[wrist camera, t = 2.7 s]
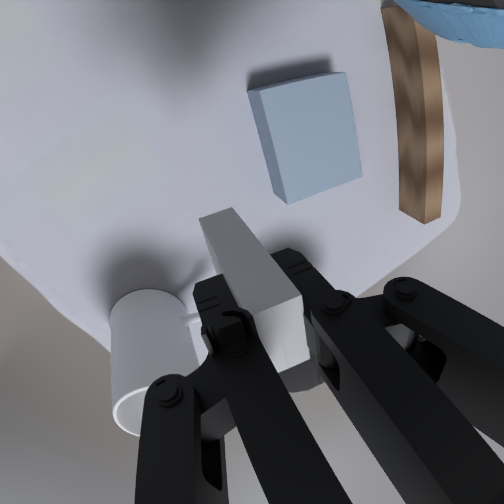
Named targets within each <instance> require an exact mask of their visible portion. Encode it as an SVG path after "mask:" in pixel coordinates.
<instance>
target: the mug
mask: <svg viewBox="0 0 504 504" xmlns="http://www.w3.org/2000/svg"><path fill="white" fill-rule="evenodd" d="M199 321H201V319H200V316H199V313H193V314H189V315H188V313H187V310H186V308H185V306H184V305H183V304H182V302H181V301H180V300H179V299H177V298H176V297H175V296H173V295H171V294H169V293H167V292H164V291H161V290H155V289H143V290H137V291H134V292H131V293H129V294H127V295H125V296H124V297H122V298H121V299H120V300H119V301H118V302H117V303H116V304H115V305H114V307H113V308H112V311H111V313H110V318H109V324H110V329H111V388H112V410H113V417H114V420H115V422H116V423H117V424H118V425H119V426H120V427H121V428H122V429H123V430H125V431H126V432H128V433H130V434H133V435H136V436H139V437H140V431H141V422H142V414H143V406H144V398H145V395H146V392H147V389H148V388H149V386H150V385H151V384H152V383H153V382H154V381H155V380H157V379H158V378H160V377H161V376H165V375H168V374H180V375H183V376H185V377H186V376H187V375H189V374H190V373H192V372H193V371H195V370H196V369H197V368H198V367H200V366H199V362H198V359H197V355H196V352H195V348H194V345H193V341H192V337H191V333H190V330H189V326H190V325H191V324H193V323H196V322H199Z"/></svg>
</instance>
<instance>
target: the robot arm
mask: <svg viewBox="0 0 504 504" xmlns="http://www.w3.org/2000/svg"><path fill="white" fill-rule="evenodd" d="M394 1H395V2H396V3H397V4H398V5H399V6H400V7H401V8H403V9H404V10H405V11H406V12H407V13H408V14H409V15H410V16H411V17H412V18H413V19H414V20H415V21H416V22H418V23H419V24H420V25H421V26H423V27H424V28H425V29H427V30H429V31H430V32H432V33H434V34H436V35H438V36H440V37H442V38H445V39H447V40H450V41H454V42H458V43H471V44H472V45H474V46H476V47H482V48H500V49H504V0H394ZM199 222H200V225H201V228H202V231H203V234H204V237H205V240H206V243H207V246H208V250H209V253H210V256H211V259H212V262H213V265H214V268H215V271H216V273H217V276H214V277H211V278H209V279H206V280H203V281H200V282H198V283H196V284H195V287H194V291H193V297H194V300H195V303H196V306H197V310H198V312H199V316H200V319H201V322H202V327H201V336H202V338H203V340H204V342H205V345H206V347H207V349H208V351H209V352H208V355H207V358H206V360H205V361H204V362H203V364H202V365H201V366H200V367H198V368H197V369H196V370H195V371H193V372H192V373H190V374H189V375H187V376H186V377H185V376H183V375H180V374H168V375H165V376H161V377H160V378H158V379H157V380H155V381H154V382H153V383H152V384H151V385H150V386H149V388H148V389H147V392H146V395H145V398H144V406H143V414H142V422H141V431H140V440H139V450H138V463H137V474H136V488H135V504H229V499H228V487H227V473H226V459H225V442H224V435H225V434H227V433H228V432H229V431H231V430H232V429H233V428H234V427H236V426H237V428H238V431H239V434H240V436H241V439H242V441H243V444H244V446H245V448H246V451H247V453H248V456H249V458H250V461H251V463H252V466H253V468H254V470H255V473H256V475H257V478H258V480H259V482H260V484H261V487H262V489H263V491H264V494H265V496H266V498H267V500H268V503H269V504H352V502H351V500H350V499H349V497H348V495H347V494H346V492H345V491H344V489H343V487H342V486H341V484H340V482H339V480H338V479H337V477H336V476H335V473H334V472H333V470H332V468H331V467H330V465H329V463H328V461H327V460H326V458H325V456H324V455H323V453H322V451H321V449H320V448H319V446H318V444H317V443H316V441H315V439H314V437H313V435H312V433H311V432H310V430H309V428H308V427H307V425H306V423H305V421H304V419H303V418H302V416H301V414H300V412H299V410H298V409H297V407H296V405H295V403H294V401H293V400H292V398H291V396H290V394H289V392H288V390H287V389H286V387H285V385H284V383H283V381H282V379H281V378H280V376H279V374H278V373H279V372H281V371H284V370H286V369H288V368H291V367H293V366H295V365H298V364H300V363H302V362H304V361H306V360H309V359H310V353H309V349H310V351H311V352H312V354H313V355H314V357H315V358H316V366H317V377H318V381H319V384H322V383H323V379H324V381H325V382H326V383H327V385H328V387H329V388H330V390H331V391H332V393H333V394H334V396H335V397H336V399H337V400H338V402H339V403H340V405H341V406H342V408H343V410H344V411H345V413H346V414H347V416H348V417H349V419H350V420H351V422H352V423H353V425H354V426H355V428H356V429H357V431H358V432H359V434H360V435H361V437H362V438H363V440H364V441H365V443H366V444H367V446H368V447H369V449H370V451H371V452H372V453H373V455H374V457H375V458H376V460H377V461H378V463H379V464H380V466H381V467H382V468H383V470H384V472H385V473H386V474H387V476H388V477H389V479H390V481H391V482H392V484H393V485H394V486H395V488H396V489H397V491H398V492H399V494H400V495H401V497H402V498H403V500H404V501H405V503H406V504H504V463H503V462H502V461H501V460H500V458H499V457H498V456H497V455H496V453H495V452H494V451H493V450H492V449H491V447H490V446H489V445H488V444H487V443H486V441H485V440H484V439H483V438H482V437H481V435H480V434H479V433H478V432H477V431H476V430H475V428H477V429H478V430H480V431H481V432H482V433H484V434H485V435H487V436H488V437H490V438H491V439H492V440H494V441H495V442H497V443H498V444H500V445H501V446H502V447H504V327H503V326H501V325H499V324H498V323H496V322H494V321H492V320H491V319H489V318H487V317H485V316H484V315H481V314H480V313H478V312H476V311H475V310H473V309H471V308H469V307H467V306H466V305H464V304H462V303H460V302H458V301H456V300H455V299H453V298H451V297H449V296H447V295H445V294H444V293H441V292H440V291H438V290H436V289H434V288H432V287H430V286H429V285H427V284H425V283H423V282H421V281H419V280H417V279H414V278H411V277H398V278H394V279H392V280H390V281H388V282H387V284H386V285H385V286H384V291H383V294H381V295H376V296H371V297H366V298H355V297H354V296H353V295H352V294H350V293H349V292H345V291H342V290H335V289H334V288H333V287H332V286H331V285H330V283H329V282H328V281H327V280H326V279H325V278H324V277H323V276H322V275H321V274H320V273H319V272H318V271H317V270H316V269H315V268H314V267H313V266H312V264H311V263H310V262H309V261H307V259H306V258H305V257H304V256H303V255H302V254H301V253H300V252H298V251H295V250H293V249H290V248H286V249H284V250H281V251H278V252H276V253H273V254H269V253H268V252H267V250H266V249H265V248H264V247H263V245H262V244H261V243H260V242H259V240H258V239H257V238H256V237H255V235H254V234H253V233H252V232H251V230H250V229H249V228H248V227H247V225H246V224H245V223H244V222H243V220H242V219H241V218H240V217H239V215H238V214H237V213H236V212H235V210H234V209H233V208H232V207H231V208H228V209H225V210H222V211H219V212H217V213H214V214H211V215H208V216H205V217H202V218H199ZM419 335H420V336H419ZM421 336H422V337H421ZM322 378H323V379H322ZM473 426H474V427H475V428H474V427H473Z"/></svg>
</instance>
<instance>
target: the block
mask: <svg viewBox="0 0 504 504" xmlns="http://www.w3.org/2000/svg"><path fill="white" fill-rule="evenodd" d="M247 94H248V98H249V101H250V105H251V108H252V112H253V116H254V119H255V123H256V127H257V130H258V134H259V138H260V141H261V145H262V149H263V153H264V157H265V160H266V164H267V168H268V172H269V176H270V180H271V184H272V188H273V192H274V194H275V195H276V196H278V197H279V198H280V199H281V200H282V201H284V202H285V203H286V204H287V205H289V204H291V203H294V202H296V201H299V200H302V199H304V198H307V197H309V196H312V195H315V194H317V193H320V192H323V191H325V190H328V189H331V188H333V187H336V186H339V185H341V184H344V183H347V182H349V181H352V180H355V179H357V178H360V177H362V169H361V161H360V153H359V146H358V139H357V133H356V126H355V120H354V114H353V108H352V102H351V97H350V92H349V87H348V82H347V77H346V72H326V73H320V74H315V75H310V76H305V77H301V78H296V79H291V80H287V81H283V82H278V83H274V84H270V85H266V86H262V87H259V88H255V89H251V90H247Z"/></svg>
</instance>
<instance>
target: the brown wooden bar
mask: <svg viewBox="0 0 504 504" xmlns="http://www.w3.org/2000/svg"><path fill="white" fill-rule="evenodd" d="M381 12H382V17H383V22H384V27H385V32H386V38H387V44H388V50H389V56H390V63H391V70H392V78H393V86H394V95H395V106H396V117H397V131H398V150H399V210H401V211H402V212H404V213H406V214H407V215H409V216H411V217H412V218H414V219H416V220H417V221H419V222H421V223H422V224H426V223H429V222H431V221H433V220H435V219H437V218H440V216H441V204H442V189H443V166H444V124H443V101H442V87H441V76H440V66H439V58H438V50H437V43H436V37H435V34H434V33H432V32H430V31H429V30H427V29H425V28H424V27H423V26H421V25H420V24H419V23H418V22H416V21H415V20H414V19H413V18H412V17H411V16H410V15H409V14H408V13H407V12H406V11H405V10H404V9H403V8H401V7H400V6H395V7H389V8H383V9H381Z"/></svg>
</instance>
